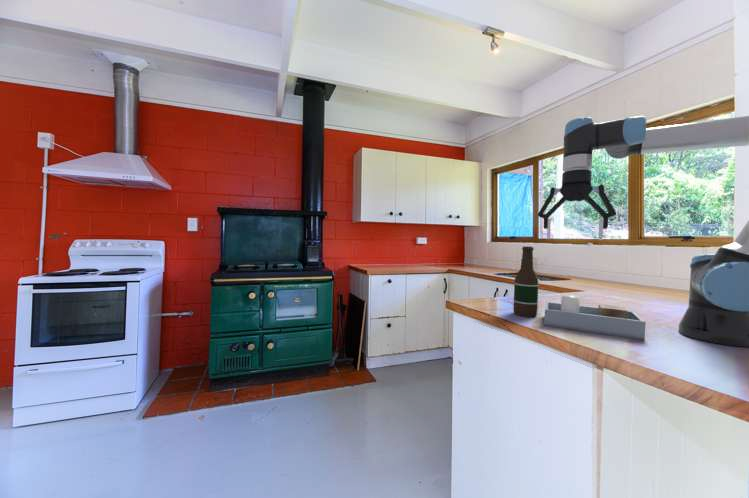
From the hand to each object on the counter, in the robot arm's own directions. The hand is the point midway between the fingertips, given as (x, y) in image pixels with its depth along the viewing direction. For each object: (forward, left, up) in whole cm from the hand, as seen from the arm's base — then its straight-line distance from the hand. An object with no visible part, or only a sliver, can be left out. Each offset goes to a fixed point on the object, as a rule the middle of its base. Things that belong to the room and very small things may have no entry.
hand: (573, 239), depth 95 cm
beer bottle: (+13, -5, -27) cm, 30 cm away
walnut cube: (-11, 0, -26) cm, 28 cm away
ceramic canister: (0, 0, -26) cm, 26 cm away
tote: (-5, 0, -27) cm, 27 cm away
